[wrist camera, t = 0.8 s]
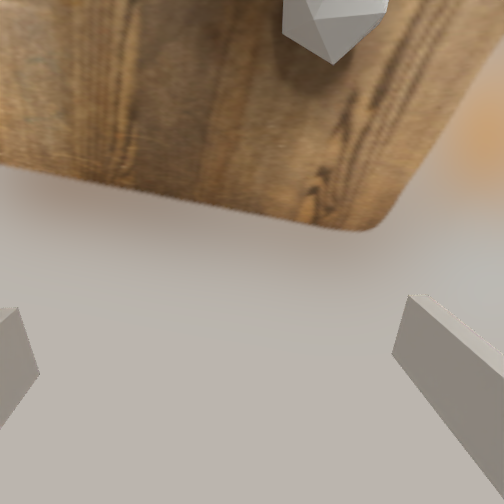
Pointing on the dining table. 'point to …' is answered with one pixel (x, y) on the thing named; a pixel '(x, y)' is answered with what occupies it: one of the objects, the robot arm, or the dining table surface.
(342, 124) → the dining table surface
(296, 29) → the die
